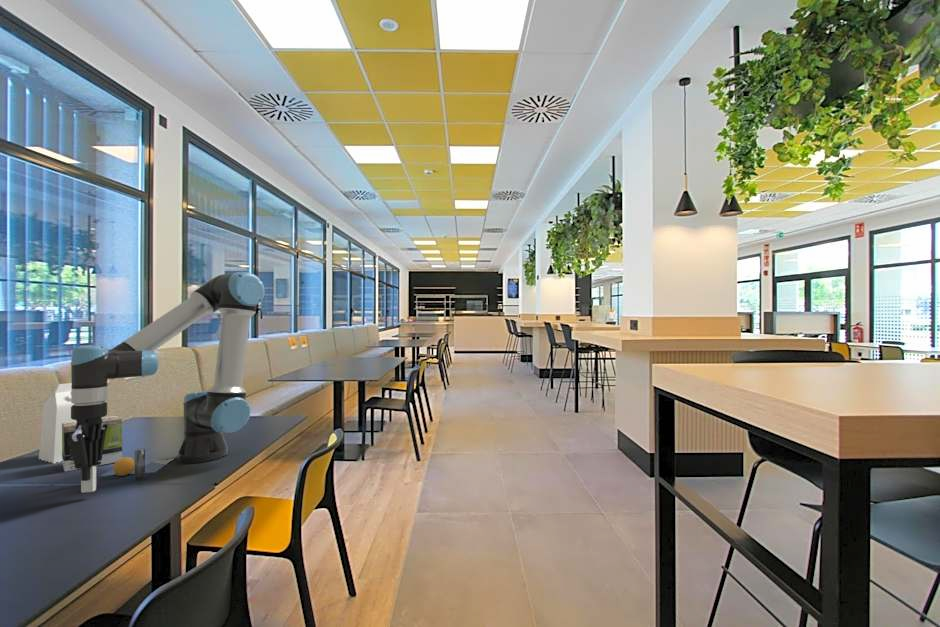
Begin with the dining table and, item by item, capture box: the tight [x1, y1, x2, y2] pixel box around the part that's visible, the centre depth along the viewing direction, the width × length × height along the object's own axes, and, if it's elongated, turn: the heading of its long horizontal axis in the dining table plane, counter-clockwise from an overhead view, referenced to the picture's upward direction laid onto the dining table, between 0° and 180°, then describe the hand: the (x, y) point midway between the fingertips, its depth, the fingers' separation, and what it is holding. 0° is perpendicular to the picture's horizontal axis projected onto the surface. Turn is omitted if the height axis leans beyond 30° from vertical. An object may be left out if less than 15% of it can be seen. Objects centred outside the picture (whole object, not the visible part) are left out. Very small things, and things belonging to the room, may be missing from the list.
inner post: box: [134, 448, 146, 482], centre depth 135 cm, size 2×2×9 cm
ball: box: [112, 456, 135, 477], centre depth 140 cm, size 6×6×6 cm
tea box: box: [61, 415, 123, 472], centre depth 152 cm, size 15×10×15 cm, turn 134°
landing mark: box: [100, 461, 168, 477], centre depth 148 cm, size 15×15×1 cm
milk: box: [38, 382, 76, 464], centre depth 161 cm, size 12×12×26 cm
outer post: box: [96, 465, 99, 484], centre depth 133 cm, size 2×2×9 cm
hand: (88, 491), depth 121 cm, fingers closed
